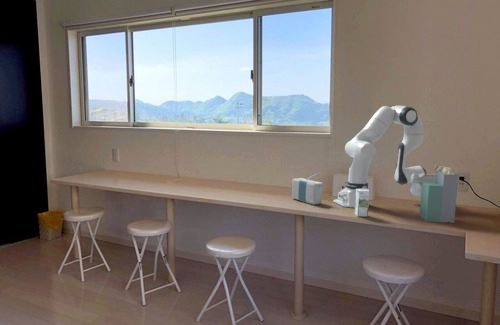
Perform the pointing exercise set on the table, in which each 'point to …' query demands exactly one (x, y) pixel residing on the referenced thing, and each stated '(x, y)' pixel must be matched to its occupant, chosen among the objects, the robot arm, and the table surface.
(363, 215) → the syrup box
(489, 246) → the table surface
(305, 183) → the stereo radio cassette player
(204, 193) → the table surface
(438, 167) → the ash rod
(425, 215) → the stepped riser
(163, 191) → the table surface
